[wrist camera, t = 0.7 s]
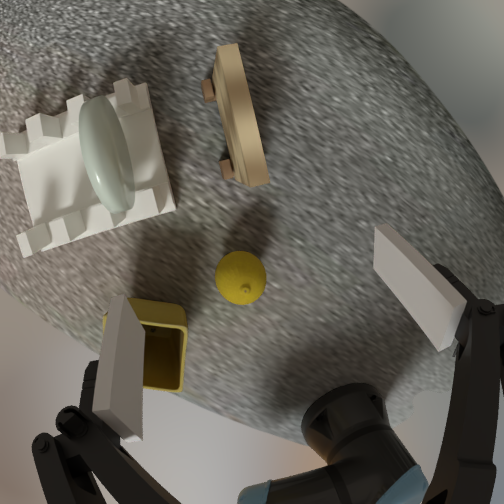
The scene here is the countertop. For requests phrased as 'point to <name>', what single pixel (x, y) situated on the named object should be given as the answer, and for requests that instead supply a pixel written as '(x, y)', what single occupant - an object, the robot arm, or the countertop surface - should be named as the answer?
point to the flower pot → (162, 343)
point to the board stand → (209, 97)
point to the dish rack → (75, 175)
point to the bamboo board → (238, 117)
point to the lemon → (240, 277)
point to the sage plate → (106, 155)
